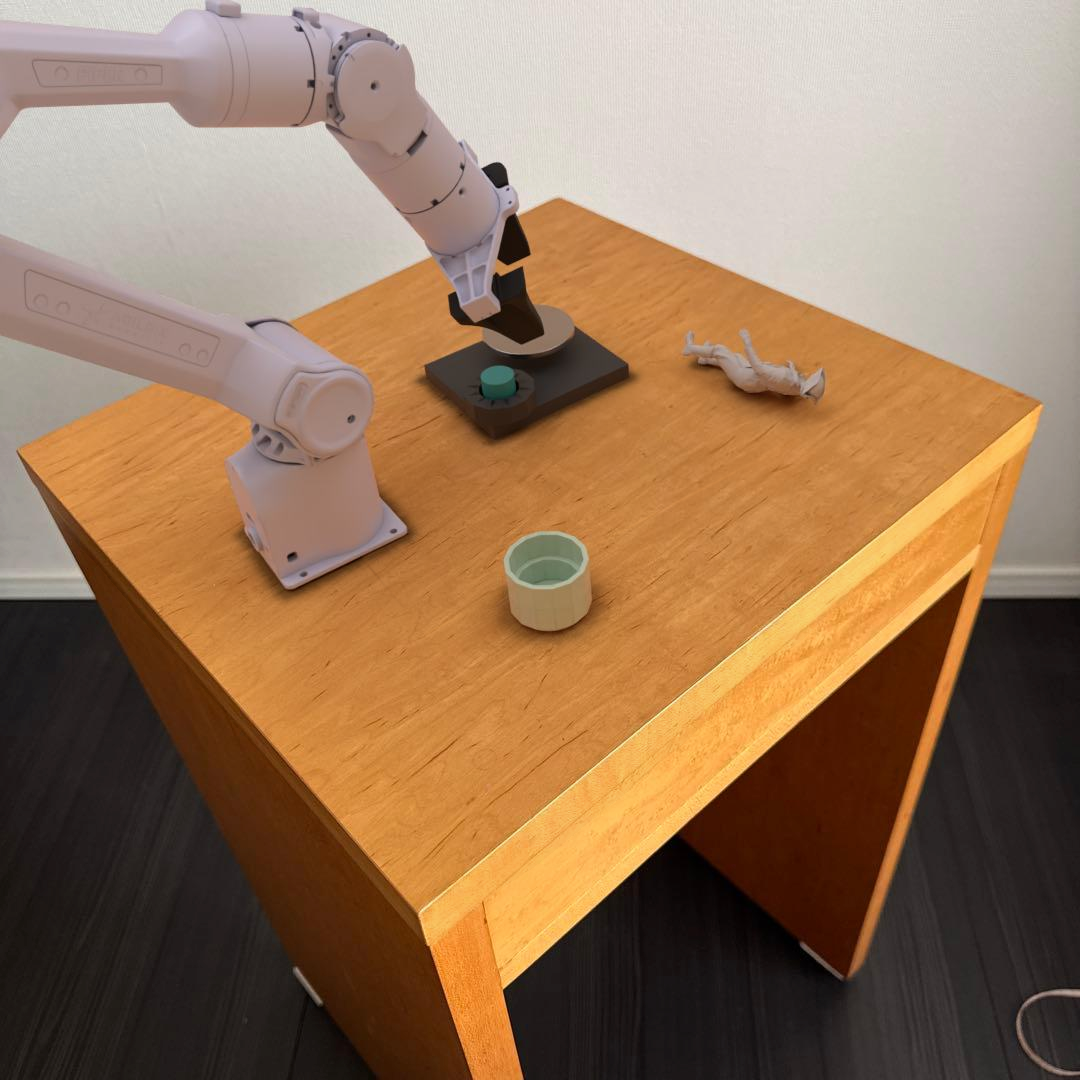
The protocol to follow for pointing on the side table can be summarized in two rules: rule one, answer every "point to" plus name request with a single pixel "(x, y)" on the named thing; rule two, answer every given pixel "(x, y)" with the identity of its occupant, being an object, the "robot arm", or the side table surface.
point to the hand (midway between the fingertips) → (525, 295)
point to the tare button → (498, 382)
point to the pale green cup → (548, 580)
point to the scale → (526, 381)
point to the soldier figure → (756, 370)
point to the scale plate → (553, 340)
